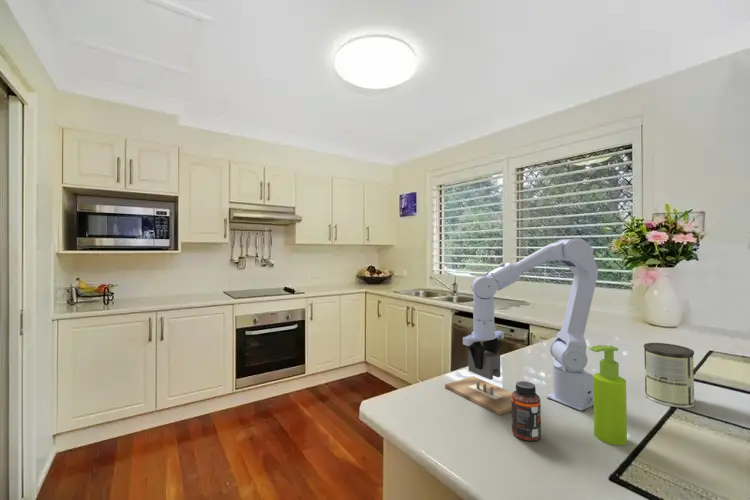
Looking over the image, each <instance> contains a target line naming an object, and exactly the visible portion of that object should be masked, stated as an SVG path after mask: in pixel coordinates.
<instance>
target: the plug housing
mask: <svg viewBox="0 0 750 500" xmlns="http://www.w3.org/2000/svg"><path fill="white" fill-rule="evenodd" d="M467 352H468V353H467V354H468V358H467V359H468V372H471V373H473V374H476V375H477V376H480V377H482V378H485V379H488V380H490V381H492V380H494V377H496V378H500V377H501V355H500V354H498V353H497V354H495V353H492V352H489V351H486V350H485V352H484V356H483V368H482V369H481V370H480V369H477V368H475V365H474V361H473V358H472V355H471V353H470V350H469V349H468V351H467Z"/></svg>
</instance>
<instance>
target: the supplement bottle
mask: <svg viewBox="0 0 750 500" xmlns="http://www.w3.org/2000/svg"><path fill="white" fill-rule="evenodd" d="M536 390H537V389H536V385H535V384H534V383H533V382H531V381H530V382H529V381H523V380H522V381H519V380H518V381H516V382H515V390H514V391H512V396H511V399H512V400H511V404H512V411H511V431H512V433H513V435H514V436H515V437H517V438H519V439H520V440H523V441H529V442H535V441H538V440H539V439H540V438H541V435H542V428H541V427H542V425H541V424H542V422H541V421H542V418H541V415H542V414H541V408H542V407H541V406H542V405H541V398H540V396H539V395H538V394H537V393H536Z"/></svg>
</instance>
